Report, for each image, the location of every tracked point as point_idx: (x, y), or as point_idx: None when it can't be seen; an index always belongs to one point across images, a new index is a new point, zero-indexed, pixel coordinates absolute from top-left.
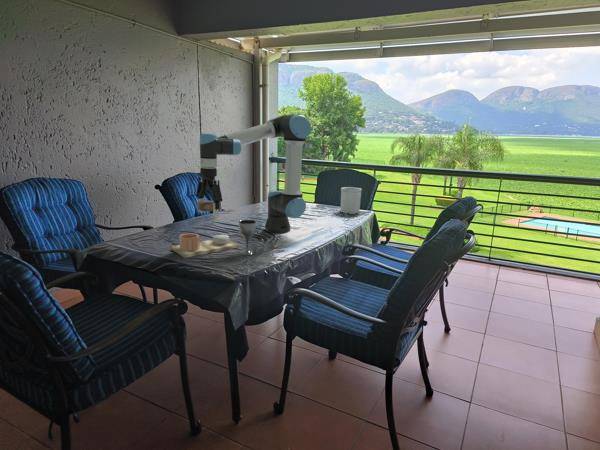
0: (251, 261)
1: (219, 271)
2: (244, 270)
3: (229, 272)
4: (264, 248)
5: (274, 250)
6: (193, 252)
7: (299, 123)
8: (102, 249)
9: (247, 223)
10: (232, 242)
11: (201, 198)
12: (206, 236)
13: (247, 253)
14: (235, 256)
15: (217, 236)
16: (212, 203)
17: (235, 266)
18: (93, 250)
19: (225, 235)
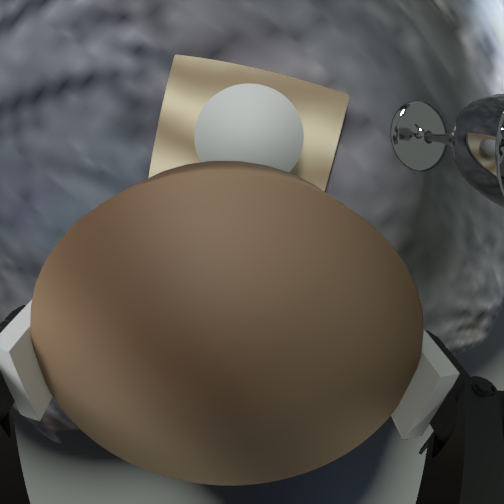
0: (480, 215)
1: (441, 339)
2: (490, 286)
3: (465, 324)
4: (433, 46)
5: (471, 53)
6: None
7: None
8: (44, 419)
9: (493, 101)
10: (293, 88)
11: (6, 386)
12: (57, 94)
13: (436, 156)
14: (415, 211)
15: (224, 145)
16: (324, 391)
17: (462, 284)
18: (46, 429)
19: (244, 92)
